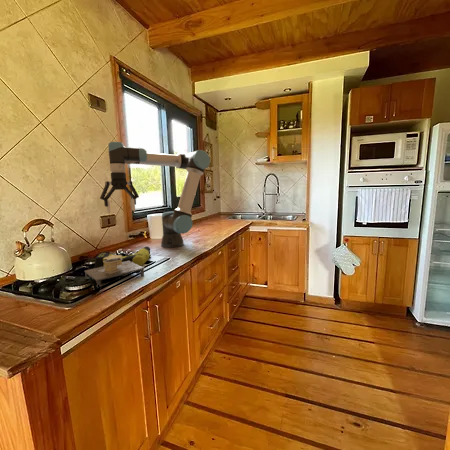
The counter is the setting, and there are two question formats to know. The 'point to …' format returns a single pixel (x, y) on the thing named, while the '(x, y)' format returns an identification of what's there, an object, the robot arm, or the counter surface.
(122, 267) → the stacked layers on plate
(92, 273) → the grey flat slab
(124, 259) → the cordless drill
